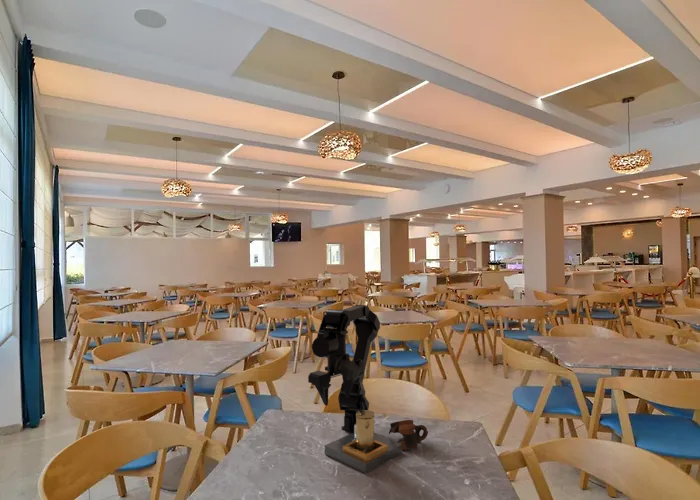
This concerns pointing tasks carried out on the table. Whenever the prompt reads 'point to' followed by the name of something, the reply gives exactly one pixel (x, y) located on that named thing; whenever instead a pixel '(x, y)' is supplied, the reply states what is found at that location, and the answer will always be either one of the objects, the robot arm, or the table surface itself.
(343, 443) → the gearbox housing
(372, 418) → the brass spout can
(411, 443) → the pottery mug
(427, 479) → the table surface
